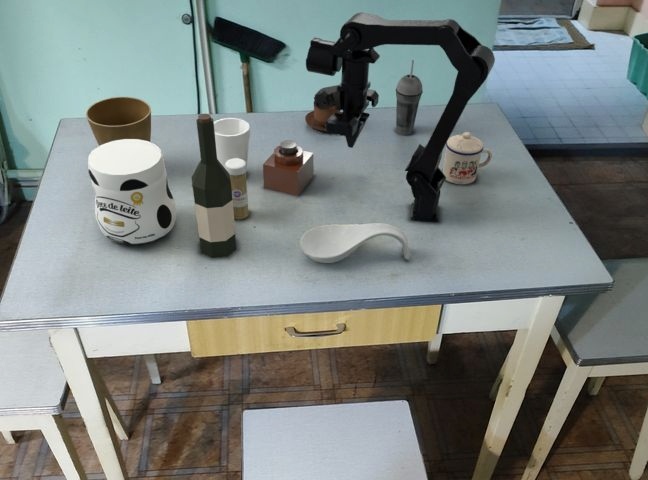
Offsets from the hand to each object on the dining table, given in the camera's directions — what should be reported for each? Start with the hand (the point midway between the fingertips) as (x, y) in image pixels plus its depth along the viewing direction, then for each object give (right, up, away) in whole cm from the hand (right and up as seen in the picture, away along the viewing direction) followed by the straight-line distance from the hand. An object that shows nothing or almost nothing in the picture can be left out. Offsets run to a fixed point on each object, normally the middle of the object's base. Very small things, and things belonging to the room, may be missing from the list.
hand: (350, 146), depth 154 cm
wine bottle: (-29, -24, -7) cm, 39 cm away
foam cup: (-29, -3, +15) cm, 33 cm away
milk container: (-48, -20, -3) cm, 52 cm away
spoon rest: (0, -26, -8) cm, 27 cm away
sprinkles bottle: (-26, -15, +2) cm, 30 cm away
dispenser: (-15, -5, +13) cm, 20 cm away
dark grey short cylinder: (-15, +1, +7) cm, 16 cm away
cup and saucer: (-5, +17, +35) cm, 39 cm away
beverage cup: (+16, +15, +34) cm, 40 cm away
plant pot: (-55, -2, +15) cm, 57 cm away
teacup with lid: (+30, -2, +17) cm, 35 cm away
